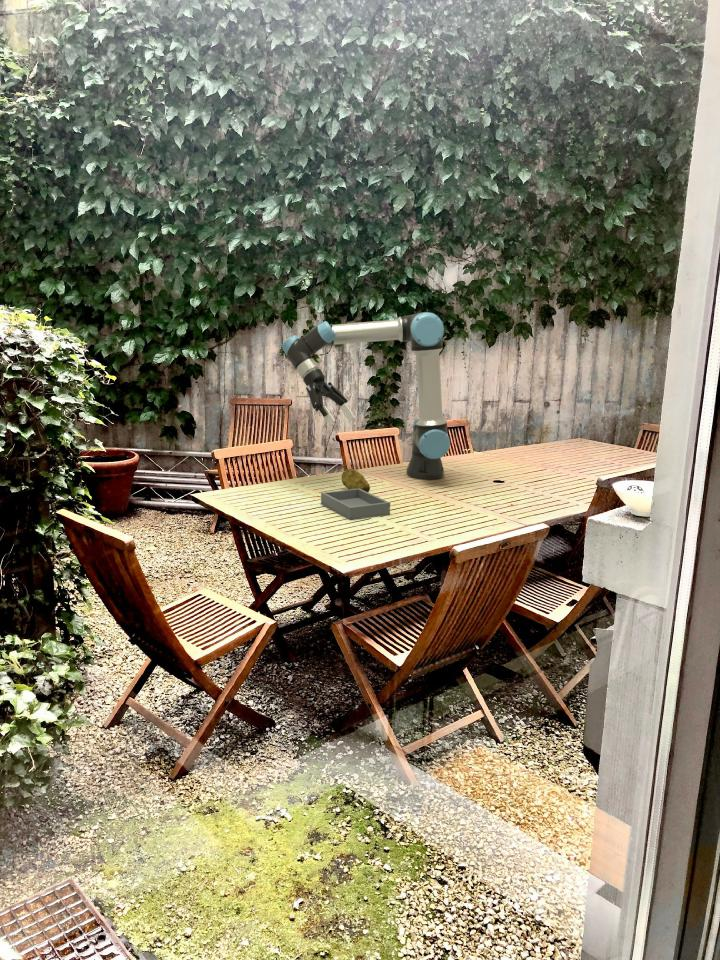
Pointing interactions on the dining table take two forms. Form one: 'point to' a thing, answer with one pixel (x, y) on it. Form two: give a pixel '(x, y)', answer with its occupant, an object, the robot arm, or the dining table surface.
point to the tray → (355, 503)
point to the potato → (354, 480)
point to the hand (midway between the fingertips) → (342, 421)
